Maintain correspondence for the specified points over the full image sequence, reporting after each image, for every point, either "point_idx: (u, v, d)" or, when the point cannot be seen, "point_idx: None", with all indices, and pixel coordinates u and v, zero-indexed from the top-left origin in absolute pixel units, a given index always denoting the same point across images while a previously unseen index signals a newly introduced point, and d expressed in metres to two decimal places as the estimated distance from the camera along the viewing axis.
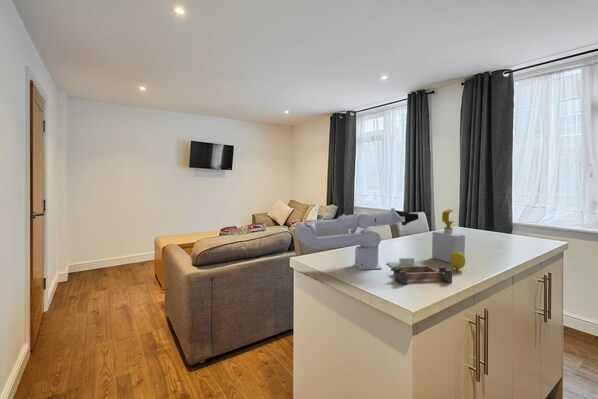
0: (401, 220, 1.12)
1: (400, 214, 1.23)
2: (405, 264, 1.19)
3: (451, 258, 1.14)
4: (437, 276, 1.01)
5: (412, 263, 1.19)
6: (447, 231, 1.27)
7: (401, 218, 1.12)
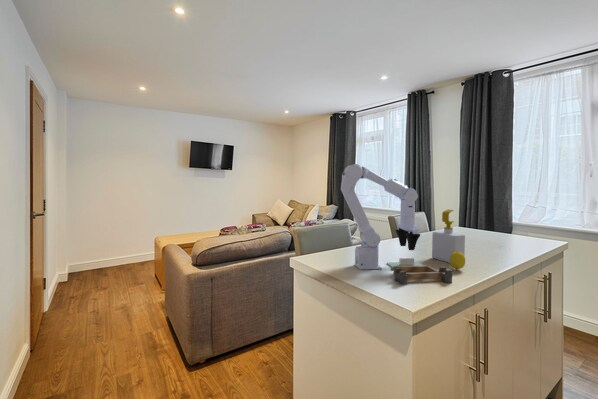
0: (415, 230, 1.11)
1: (404, 237, 1.23)
2: (405, 264, 1.19)
3: (451, 258, 1.14)
4: (437, 276, 1.01)
5: (412, 263, 1.19)
6: (447, 231, 1.27)
7: (417, 230, 1.11)
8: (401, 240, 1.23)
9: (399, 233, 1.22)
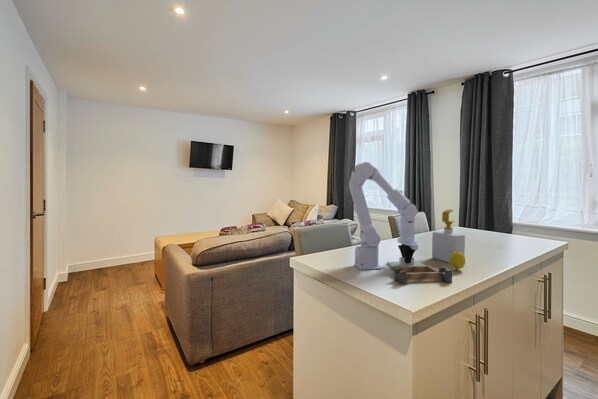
0: (414, 246, 1.12)
1: None
2: (405, 263, 1.19)
3: (451, 258, 1.14)
4: (437, 276, 1.01)
5: (412, 262, 1.19)
6: (447, 231, 1.27)
7: (416, 246, 1.12)
8: None
9: (402, 249, 1.20)
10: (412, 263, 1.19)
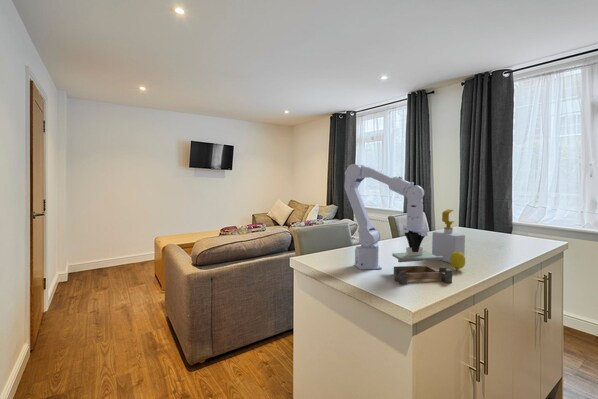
0: (423, 232, 1.01)
1: None
2: (413, 254, 1.08)
3: (451, 258, 1.14)
4: (437, 276, 1.01)
5: (420, 253, 1.09)
6: (447, 231, 1.27)
7: (426, 232, 1.01)
8: None
9: None
10: (420, 253, 1.09)
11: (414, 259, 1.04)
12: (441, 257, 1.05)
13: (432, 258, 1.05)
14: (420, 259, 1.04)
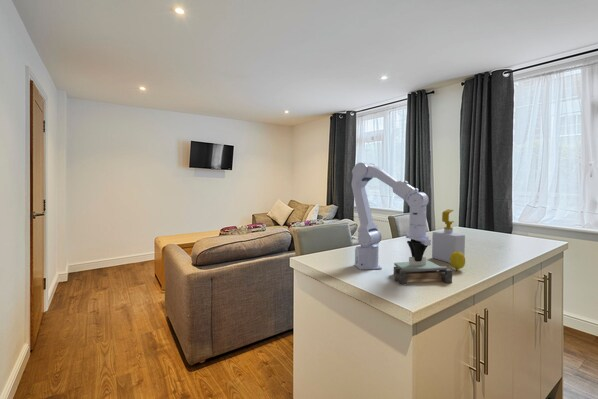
0: (427, 241, 0.97)
1: None
2: (416, 264, 1.04)
3: (451, 258, 1.14)
4: (437, 276, 1.01)
5: (423, 263, 1.05)
6: (447, 231, 1.27)
7: (429, 241, 0.97)
8: None
9: (411, 245, 1.05)
10: (423, 263, 1.05)
11: (416, 270, 1.00)
12: (445, 268, 1.01)
13: (436, 269, 1.01)
14: (423, 270, 1.00)
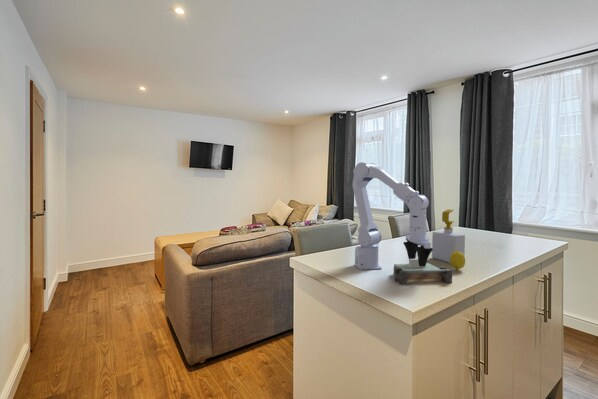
0: (427, 244, 0.97)
1: (413, 250, 1.09)
2: (415, 266, 1.04)
3: (451, 258, 1.14)
4: (437, 276, 1.01)
5: None
6: (447, 231, 1.27)
7: (429, 244, 0.97)
8: (410, 254, 1.08)
9: (408, 246, 1.08)
10: None
11: (416, 271, 1.00)
12: None
13: (435, 271, 1.01)
14: (423, 272, 1.00)
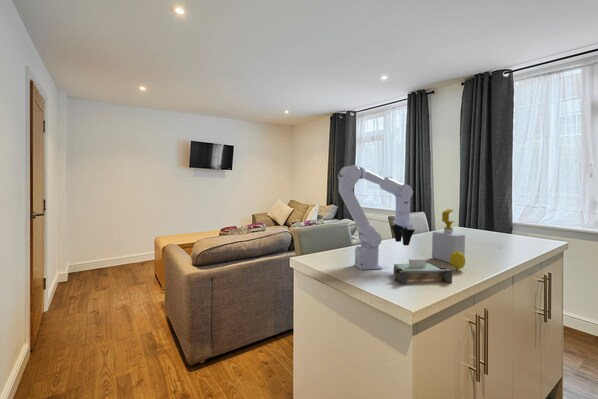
0: (409, 225, 1.14)
1: (399, 232, 1.25)
2: (415, 266, 1.04)
3: (451, 258, 1.14)
4: (437, 276, 1.01)
5: (423, 265, 1.05)
6: (447, 231, 1.27)
7: (411, 225, 1.14)
8: (396, 236, 1.25)
9: (394, 229, 1.25)
10: (423, 265, 1.05)
11: (416, 271, 1.00)
12: None
13: (435, 271, 1.01)
14: (423, 272, 1.00)
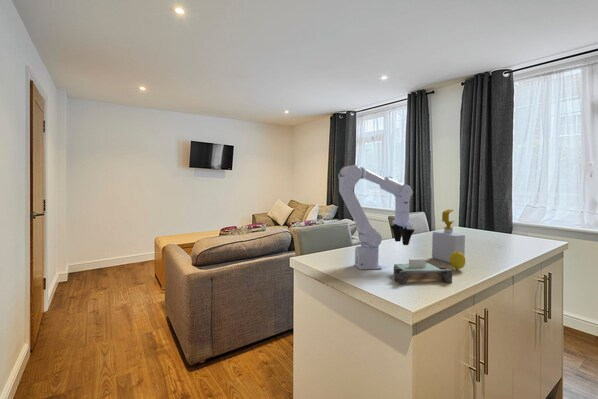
0: (409, 225, 1.14)
1: (398, 232, 1.25)
2: (415, 266, 1.04)
3: (451, 258, 1.14)
4: (437, 276, 1.01)
5: (423, 265, 1.05)
6: (447, 231, 1.27)
7: (411, 225, 1.14)
8: (396, 235, 1.25)
9: (394, 229, 1.25)
10: (423, 265, 1.05)
11: (416, 271, 1.00)
12: None
13: (435, 271, 1.01)
14: (423, 272, 1.00)
